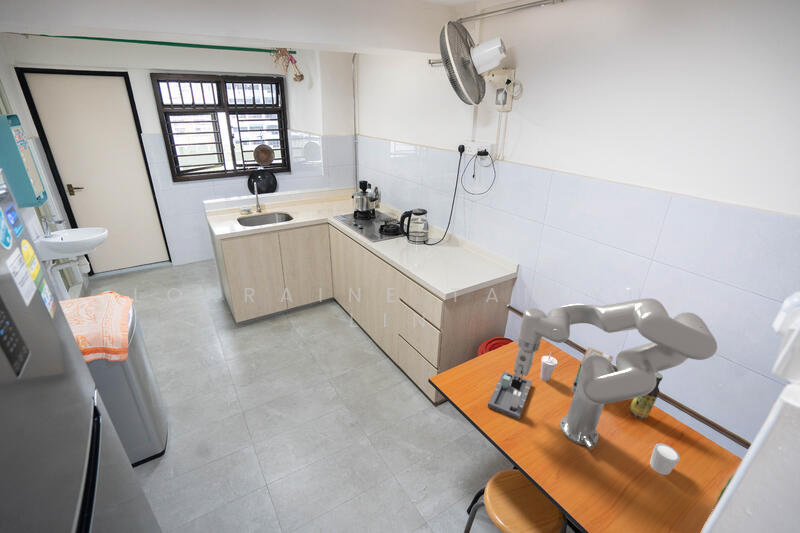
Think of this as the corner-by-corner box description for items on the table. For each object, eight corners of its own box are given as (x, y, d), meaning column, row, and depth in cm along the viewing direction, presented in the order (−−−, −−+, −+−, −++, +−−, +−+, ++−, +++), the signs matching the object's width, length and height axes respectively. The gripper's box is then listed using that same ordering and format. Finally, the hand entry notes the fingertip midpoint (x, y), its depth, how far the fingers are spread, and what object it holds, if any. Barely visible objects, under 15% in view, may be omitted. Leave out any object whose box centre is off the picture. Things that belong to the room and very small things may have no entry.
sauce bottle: (628, 416, 139) (645, 375, 131) (628, 406, 144) (643, 366, 136) (648, 423, 136) (666, 382, 128) (647, 412, 141) (664, 372, 133)
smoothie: (533, 375, 158) (540, 349, 152) (544, 371, 161) (551, 345, 155) (544, 384, 153) (552, 358, 147) (556, 381, 155) (563, 354, 150)
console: (518, 420, 135) (519, 415, 134) (487, 406, 140) (488, 402, 139) (531, 385, 152) (532, 381, 151) (503, 374, 158) (503, 370, 157)
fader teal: (507, 390, 147) (509, 380, 145) (500, 388, 148) (502, 378, 146) (508, 387, 149) (510, 377, 147) (502, 384, 150) (504, 374, 148)
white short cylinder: (649, 454, 124) (655, 439, 121) (673, 466, 120) (680, 451, 117) (646, 467, 119) (653, 452, 116) (671, 481, 115) (679, 465, 112)
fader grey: (516, 410, 137) (520, 395, 134) (509, 408, 138) (513, 393, 135) (518, 406, 139) (521, 392, 136) (511, 404, 140) (514, 389, 137)
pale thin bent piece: (596, 403, 144) (607, 374, 138) (570, 392, 150) (579, 363, 144) (603, 383, 155) (613, 355, 149) (579, 373, 161) (587, 345, 155)
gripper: (534, 359, 118) (523, 398, 125) (543, 334, 132) (533, 371, 139) (511, 350, 121) (502, 390, 128) (523, 327, 135) (514, 363, 142)
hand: (518, 380), depth 134 cm, fingers open, 9 cm apart
